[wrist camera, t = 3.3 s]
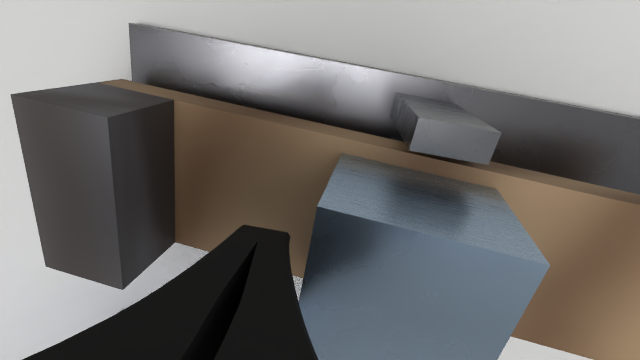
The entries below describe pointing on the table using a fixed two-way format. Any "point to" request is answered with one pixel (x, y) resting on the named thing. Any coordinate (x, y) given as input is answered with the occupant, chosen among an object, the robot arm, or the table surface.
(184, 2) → the table surface
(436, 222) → the block
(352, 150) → the beam
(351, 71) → the stand
